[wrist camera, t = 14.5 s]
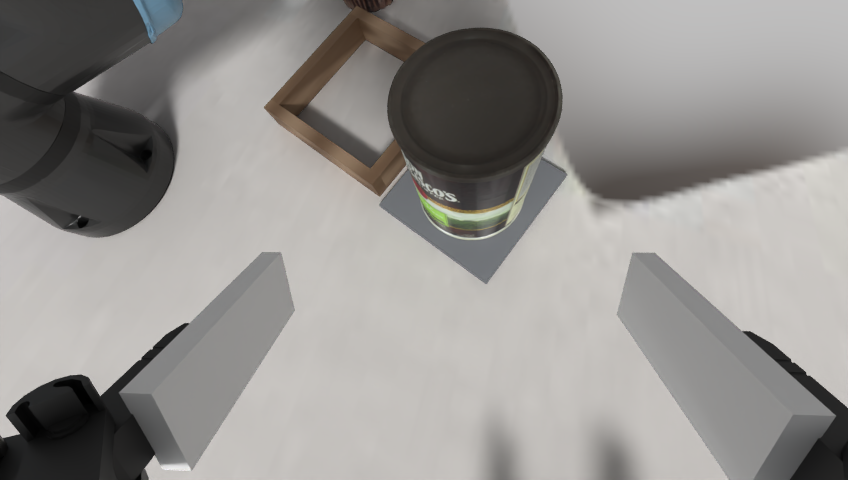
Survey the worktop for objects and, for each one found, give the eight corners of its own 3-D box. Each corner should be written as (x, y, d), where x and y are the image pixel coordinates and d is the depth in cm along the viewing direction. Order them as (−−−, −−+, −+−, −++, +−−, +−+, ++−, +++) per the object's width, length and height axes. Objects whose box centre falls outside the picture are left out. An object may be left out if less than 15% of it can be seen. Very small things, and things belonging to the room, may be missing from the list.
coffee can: (461, 263, 33) (453, 213, 19) (399, 182, 36) (355, 89, 22) (549, 198, 33) (603, 105, 20) (482, 124, 36) (487, -2, 22)
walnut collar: (278, 123, 40) (263, 107, 37) (364, 28, 42) (356, 5, 39) (379, 196, 36) (371, 184, 33) (469, 87, 38) (469, 67, 35)
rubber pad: (380, 206, 36) (379, 204, 35) (457, 112, 37) (457, 109, 37) (486, 284, 32) (486, 283, 32) (565, 177, 34) (567, 174, 33)
